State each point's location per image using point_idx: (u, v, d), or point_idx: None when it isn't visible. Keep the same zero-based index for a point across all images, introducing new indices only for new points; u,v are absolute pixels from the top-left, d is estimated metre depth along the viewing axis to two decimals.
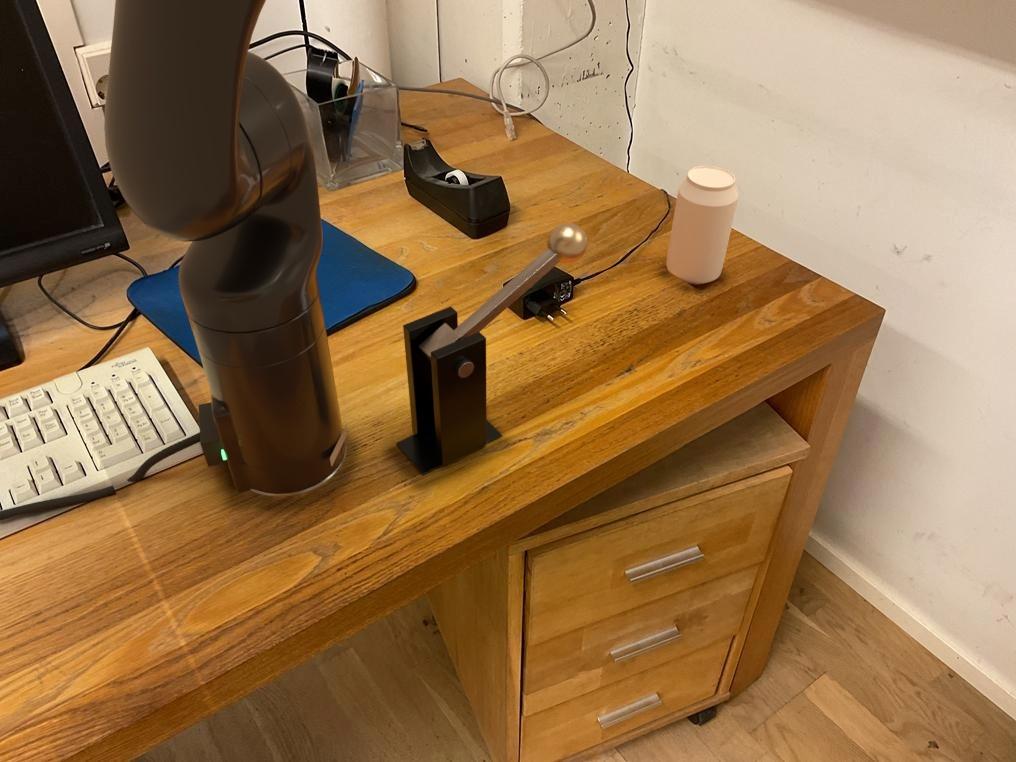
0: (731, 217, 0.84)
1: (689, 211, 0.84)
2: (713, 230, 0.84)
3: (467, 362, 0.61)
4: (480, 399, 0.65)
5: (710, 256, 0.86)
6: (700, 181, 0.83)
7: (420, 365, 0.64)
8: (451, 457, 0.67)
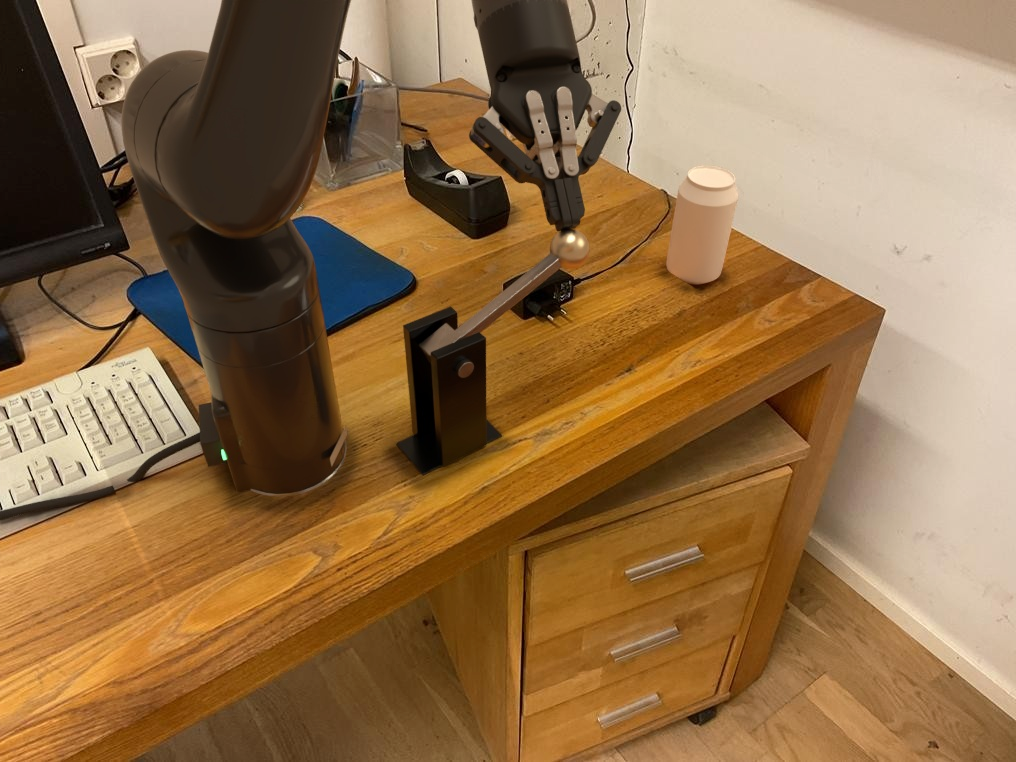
0: (731, 217, 0.84)
1: (689, 211, 0.84)
2: (713, 230, 0.84)
3: (467, 362, 0.61)
4: (480, 399, 0.65)
5: (710, 256, 0.86)
6: (700, 181, 0.83)
7: (420, 365, 0.64)
8: (451, 457, 0.67)
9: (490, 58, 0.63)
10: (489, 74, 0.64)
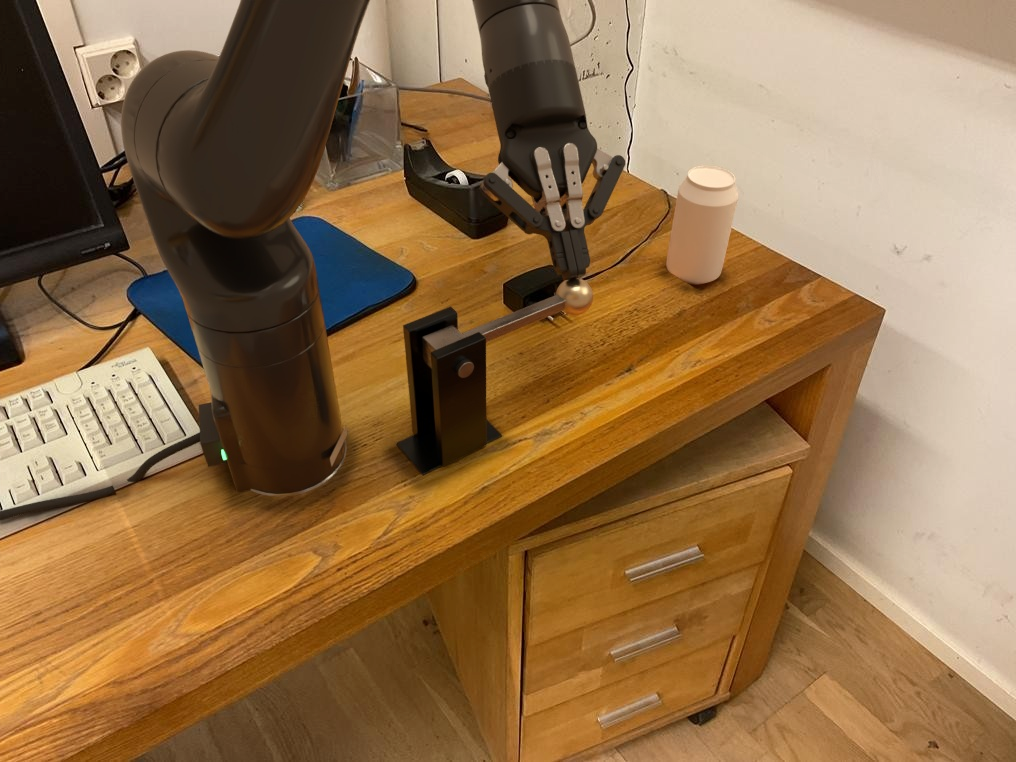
0: (731, 217, 0.84)
1: (689, 211, 0.84)
2: (713, 230, 0.84)
3: (467, 362, 0.61)
4: (480, 399, 0.65)
5: (710, 256, 0.86)
6: (700, 181, 0.83)
7: (420, 365, 0.64)
8: (451, 457, 0.67)
9: (500, 116, 0.66)
10: (499, 130, 0.67)
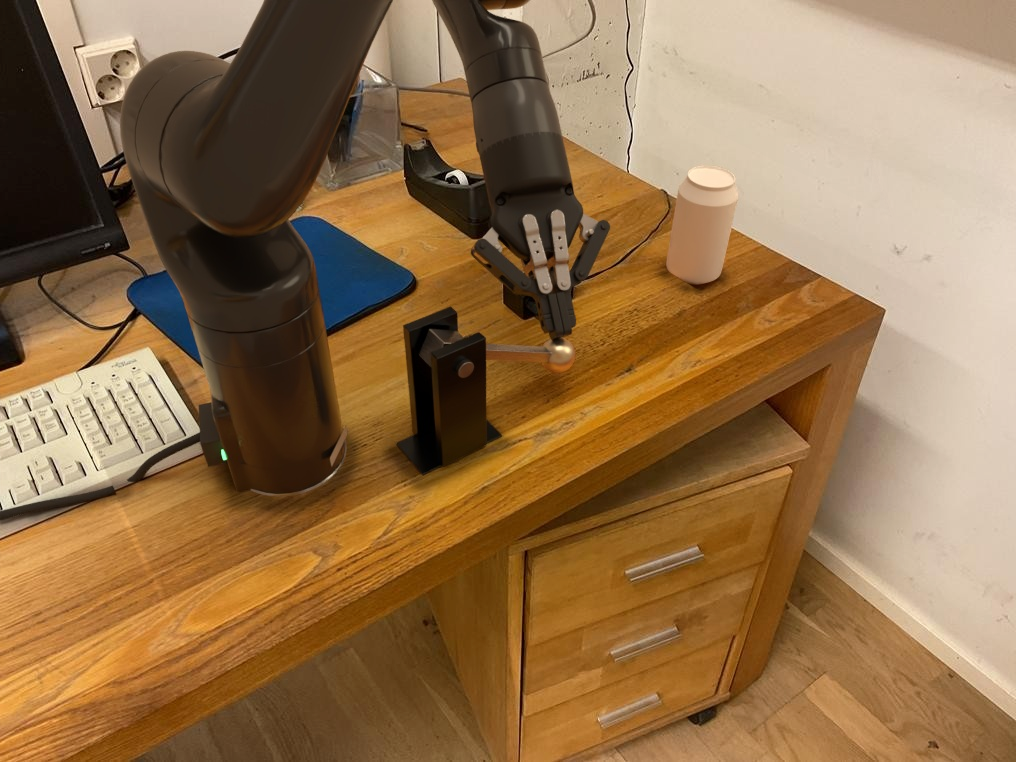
0: (731, 217, 0.84)
1: (689, 211, 0.84)
2: (713, 230, 0.84)
3: (467, 362, 0.61)
4: (480, 399, 0.65)
5: (710, 256, 0.86)
6: (700, 181, 0.83)
7: (420, 365, 0.64)
8: (451, 457, 0.67)
9: (491, 184, 0.70)
10: (489, 197, 0.70)
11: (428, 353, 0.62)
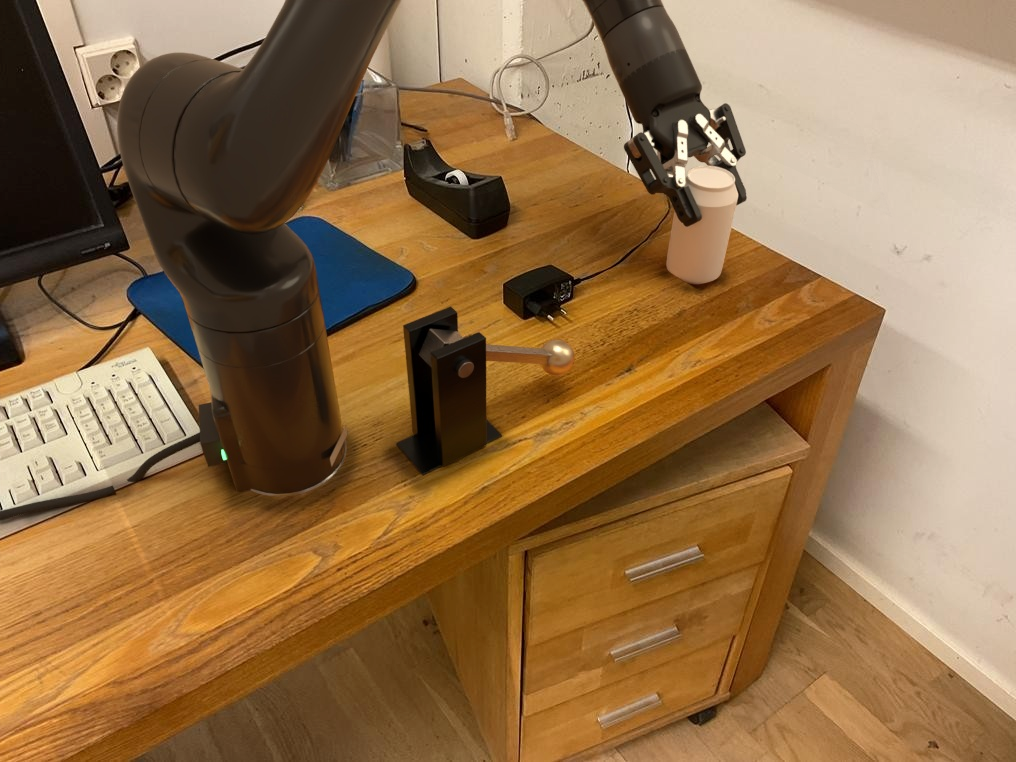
0: (731, 217, 0.84)
1: None
2: (713, 230, 0.84)
3: (467, 362, 0.61)
4: (480, 399, 0.65)
5: (710, 256, 0.86)
6: (699, 181, 0.83)
7: (420, 365, 0.64)
8: (451, 457, 0.67)
9: (644, 99, 0.82)
10: (641, 112, 0.83)
11: (428, 353, 0.62)
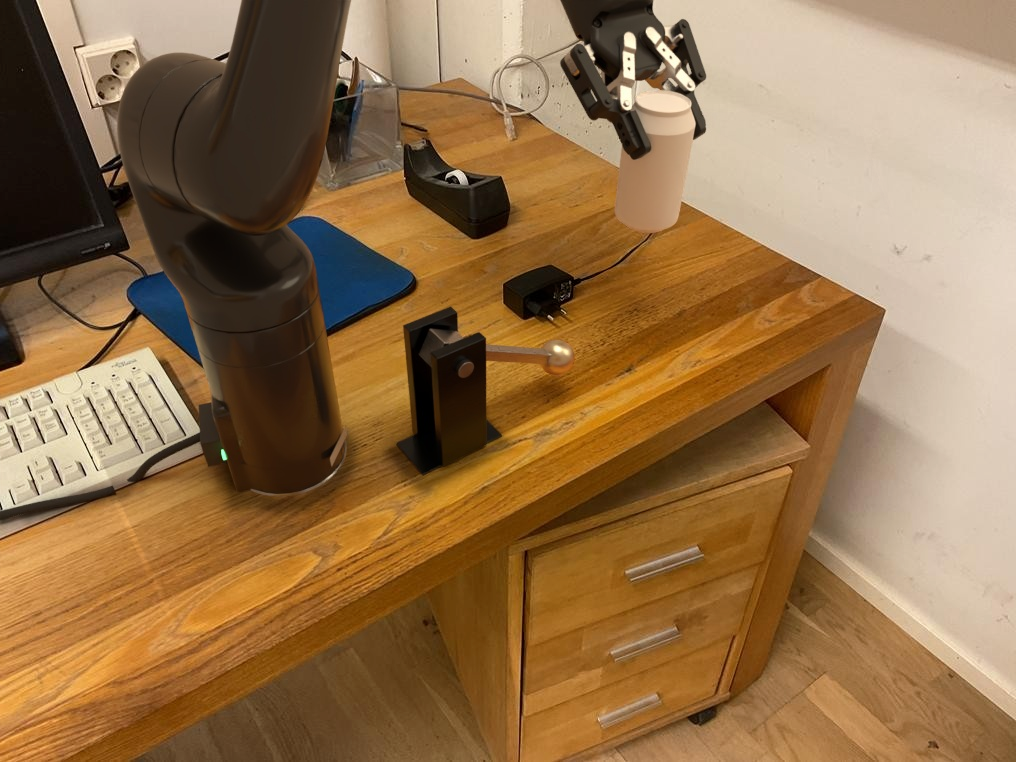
0: (687, 150, 0.72)
1: None
2: (665, 165, 0.71)
3: (467, 362, 0.61)
4: (480, 399, 0.65)
5: (662, 198, 0.74)
6: (649, 106, 0.70)
7: (420, 365, 0.64)
8: (451, 457, 0.67)
9: (584, 7, 0.69)
10: (582, 22, 0.70)
11: (428, 353, 0.62)
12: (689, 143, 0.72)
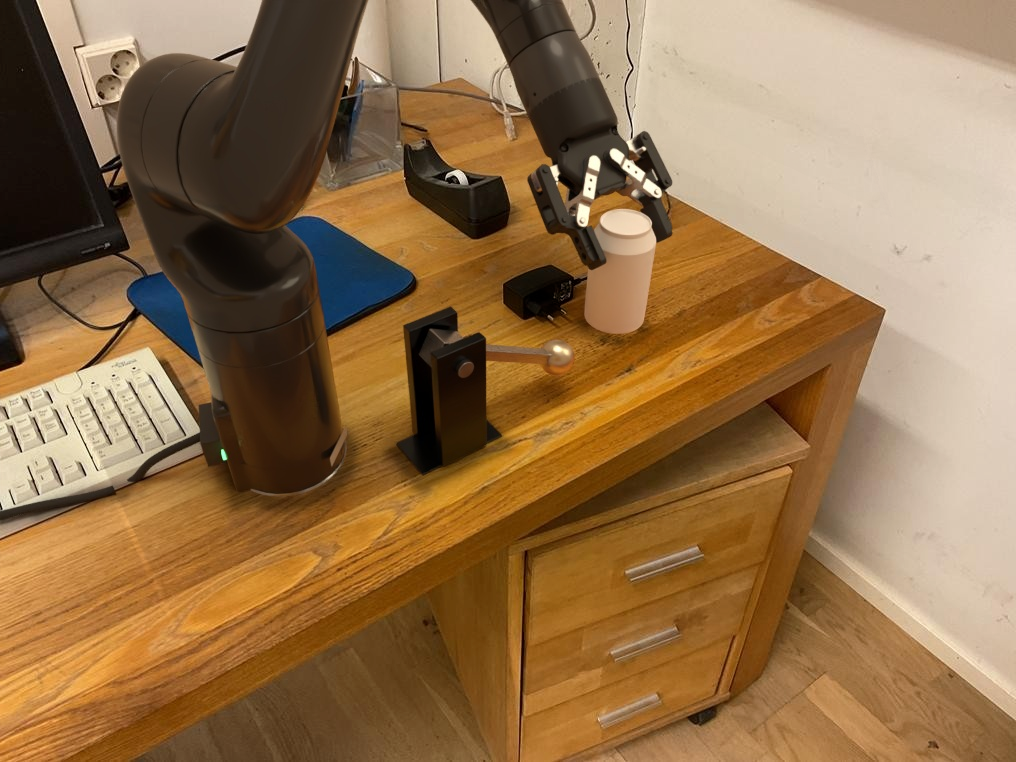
0: (648, 266, 0.77)
1: None
2: (628, 280, 0.77)
3: (467, 362, 0.61)
4: (480, 399, 0.65)
5: (627, 307, 0.79)
6: (612, 227, 0.76)
7: (420, 365, 0.64)
8: (451, 457, 0.67)
9: (552, 133, 0.74)
10: (550, 146, 0.75)
11: (428, 353, 0.62)
12: (650, 259, 0.77)
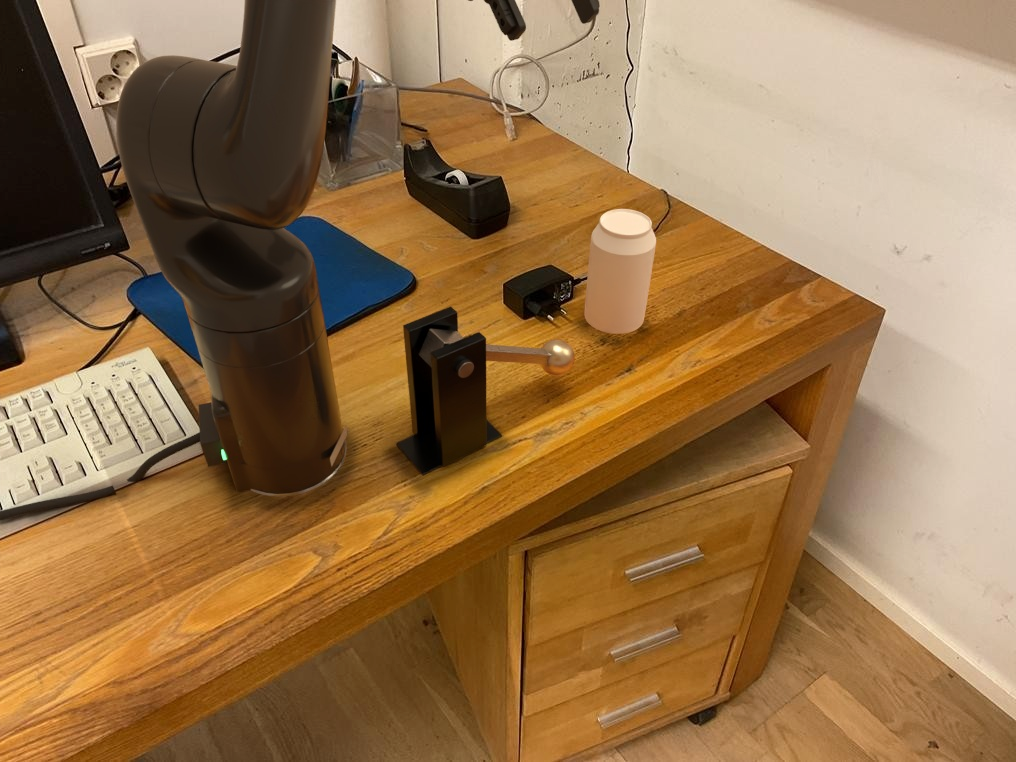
0: (648, 266, 0.77)
1: (602, 260, 0.76)
2: (628, 280, 0.77)
3: (467, 362, 0.61)
4: (480, 399, 0.65)
5: (627, 307, 0.79)
6: (612, 227, 0.76)
7: (420, 365, 0.64)
8: (451, 457, 0.67)
9: None
10: None
11: (428, 353, 0.62)
12: (650, 259, 0.77)
